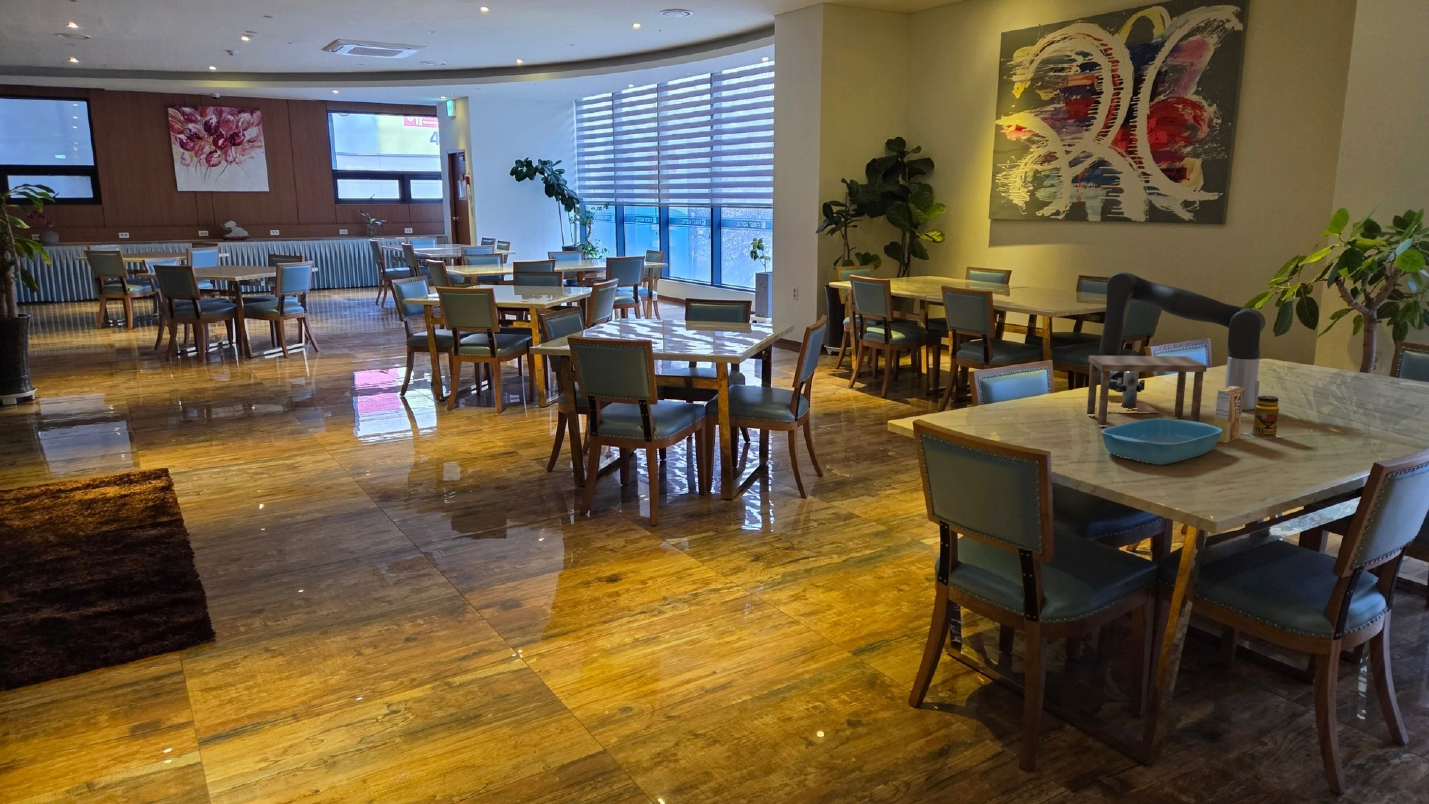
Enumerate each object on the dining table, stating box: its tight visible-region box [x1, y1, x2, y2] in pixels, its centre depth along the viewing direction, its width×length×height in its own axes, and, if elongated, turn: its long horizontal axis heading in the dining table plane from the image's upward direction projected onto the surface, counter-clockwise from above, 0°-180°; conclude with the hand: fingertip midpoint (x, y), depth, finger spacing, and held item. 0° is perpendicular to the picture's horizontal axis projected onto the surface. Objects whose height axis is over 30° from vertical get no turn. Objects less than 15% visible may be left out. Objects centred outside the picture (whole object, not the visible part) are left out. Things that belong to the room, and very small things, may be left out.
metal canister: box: [1121, 371, 1140, 409], centre depth 305 cm, size 4×4×12 cm
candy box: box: [1213, 386, 1245, 444], centre depth 268 cm, size 9×4×15 cm, turn 129°
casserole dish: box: [1101, 417, 1222, 466], centre depth 256 cm, size 37×22×7 cm, turn 125°
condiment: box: [1241, 395, 1282, 440], centre depth 272 cm, size 7×8×12 cm
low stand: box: [1086, 355, 1208, 426], centre depth 290 cm, size 30×18×20 cm, turn 81°
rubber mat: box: [1127, 401, 1159, 414], centre depth 313 cm, size 18×16×1 cm
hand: (1131, 389), depth 303 cm, fingers closed on metal canister, 4 cm apart
